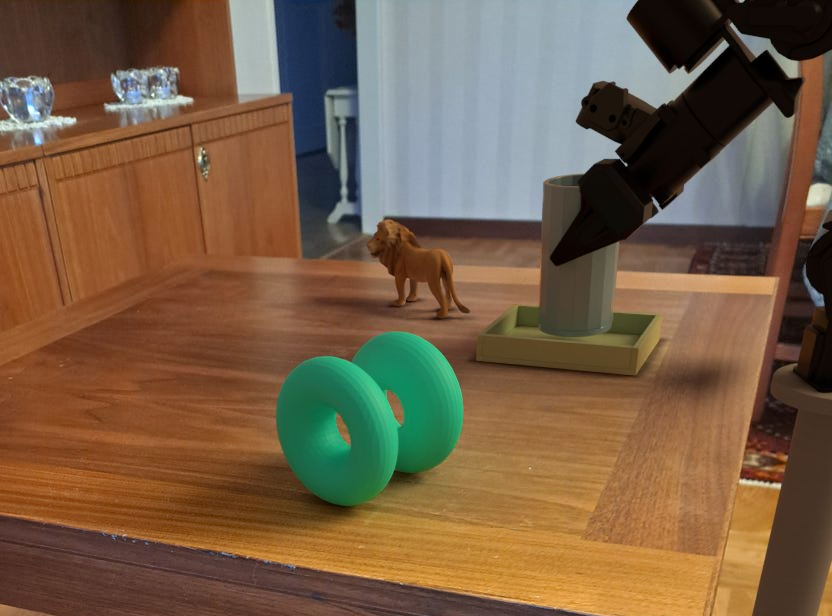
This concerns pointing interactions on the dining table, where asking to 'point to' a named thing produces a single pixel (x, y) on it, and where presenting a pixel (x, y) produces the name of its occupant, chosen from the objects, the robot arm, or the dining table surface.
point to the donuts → (368, 417)
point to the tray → (570, 343)
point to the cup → (573, 270)
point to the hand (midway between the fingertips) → (564, 254)
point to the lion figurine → (414, 265)
